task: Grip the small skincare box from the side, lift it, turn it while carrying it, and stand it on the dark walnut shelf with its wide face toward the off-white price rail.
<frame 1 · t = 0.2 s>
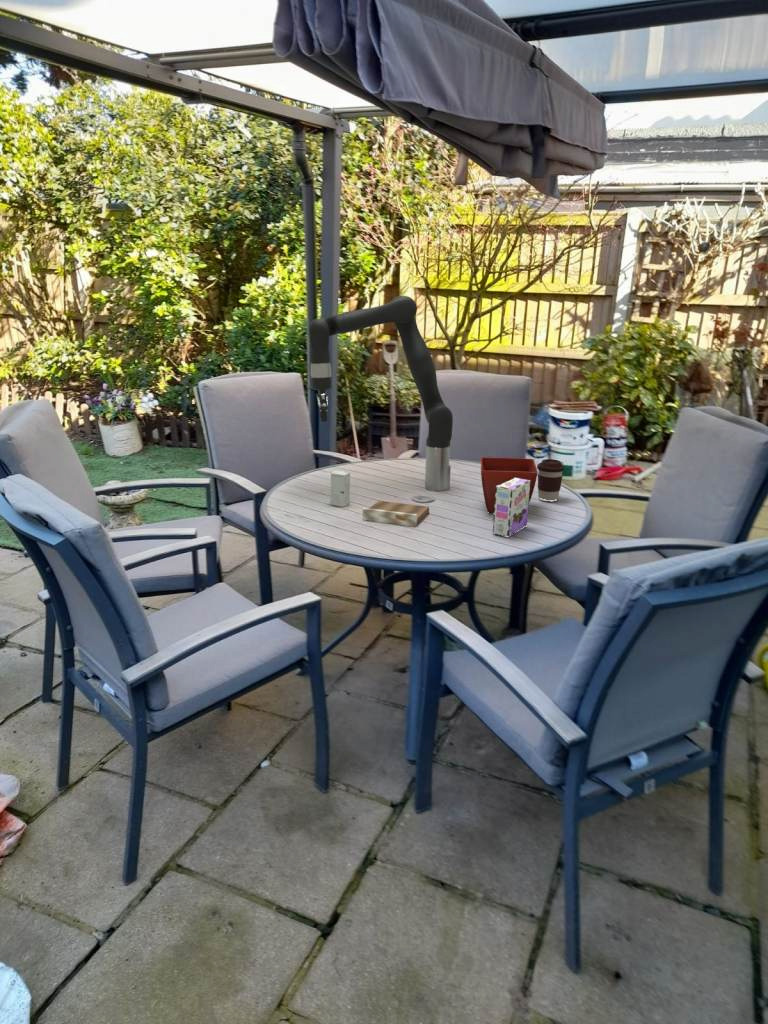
hand: (323, 419, 250), 28 cm above the table, tool pointing down, fingers open, 8 cm apart
candy box: (510, 531, 220), on the table
skincare box: (340, 505, 245), on the table
shelf: (396, 516, 233), on the table
plant pot: (505, 510, 241), on the table
coffee cup: (547, 500, 253), on the table
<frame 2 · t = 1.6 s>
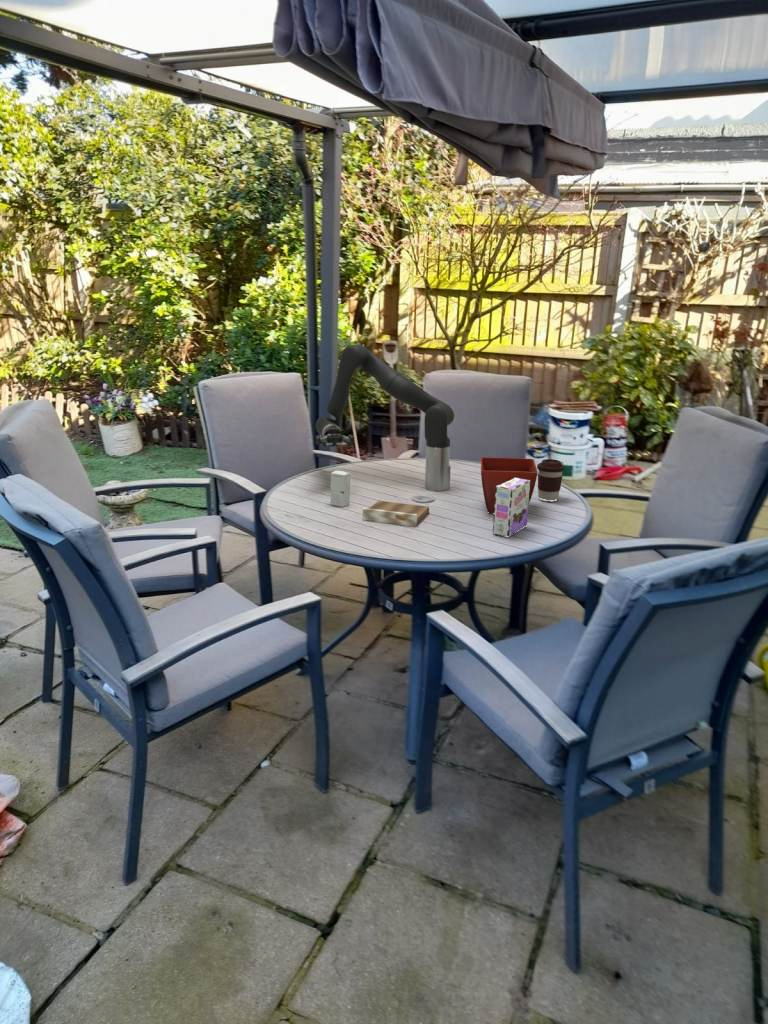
hand: (336, 444, 249), 20 cm above the table, tool horizontal, fingers open, 8 cm apart
nothing on the table moved.
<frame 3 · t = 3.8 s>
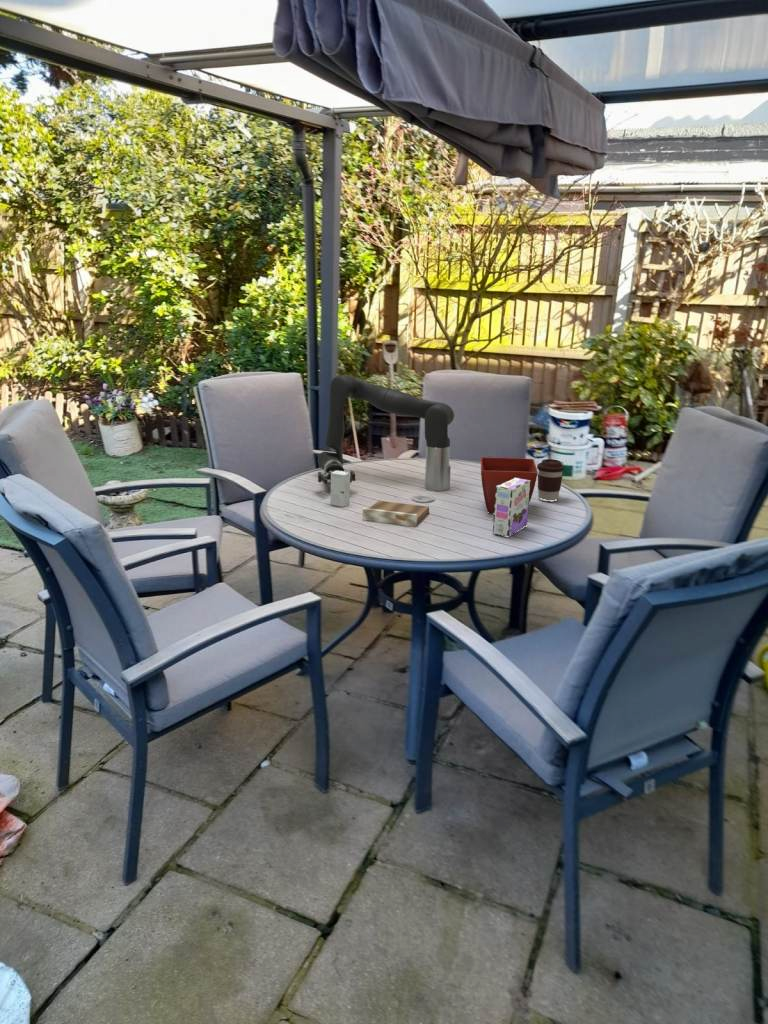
hand: (338, 481, 250), 7 cm above the table, tool horizontal, fingers open, 8 cm apart
nothing on the table moved.
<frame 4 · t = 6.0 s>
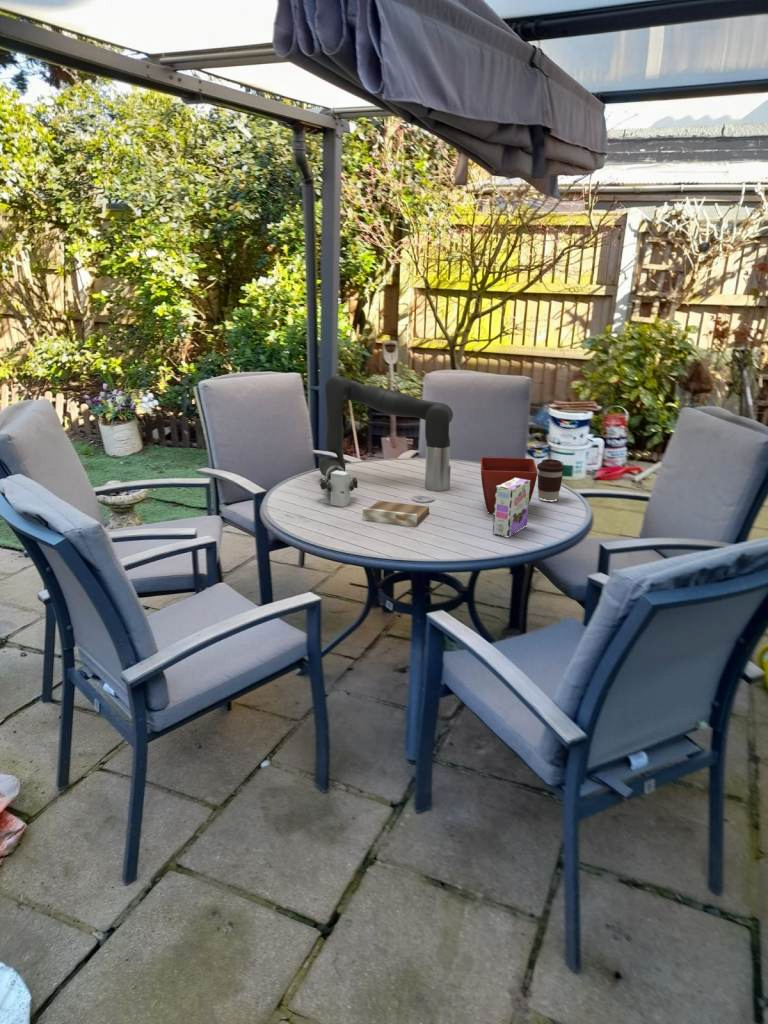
hand: (340, 488, 241), 7 cm above the table, tool horizontal, fingers closed on skincare box, 7 cm apart
skincare box: (340, 505, 245), on the table, touching gripper
everything else where it was.
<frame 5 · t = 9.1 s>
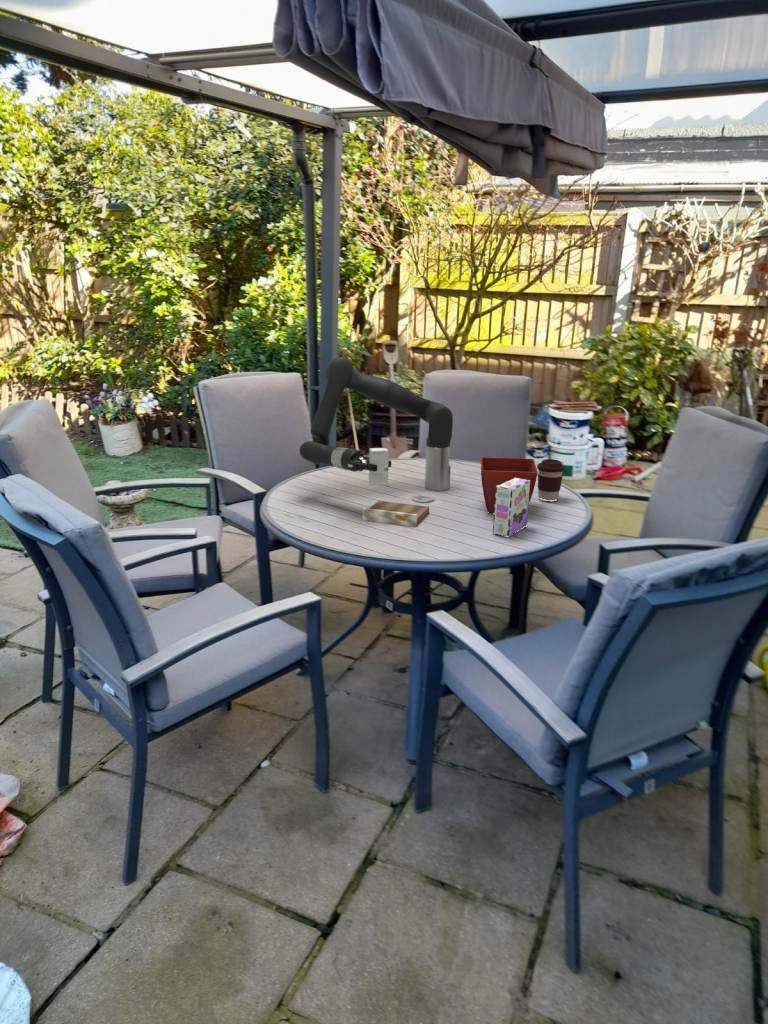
hand: (383, 466, 226), 18 cm above the table, tool horizontal, fingers closed on skincare box, 7 cm apart
skincare box: (378, 484, 230), point 11 cm above the table, touching gripper
everything else where it was.
when the fingers open (10 cm above the table, at t = 12.3 s): skincare box drops 1 cm, resting on shelf.
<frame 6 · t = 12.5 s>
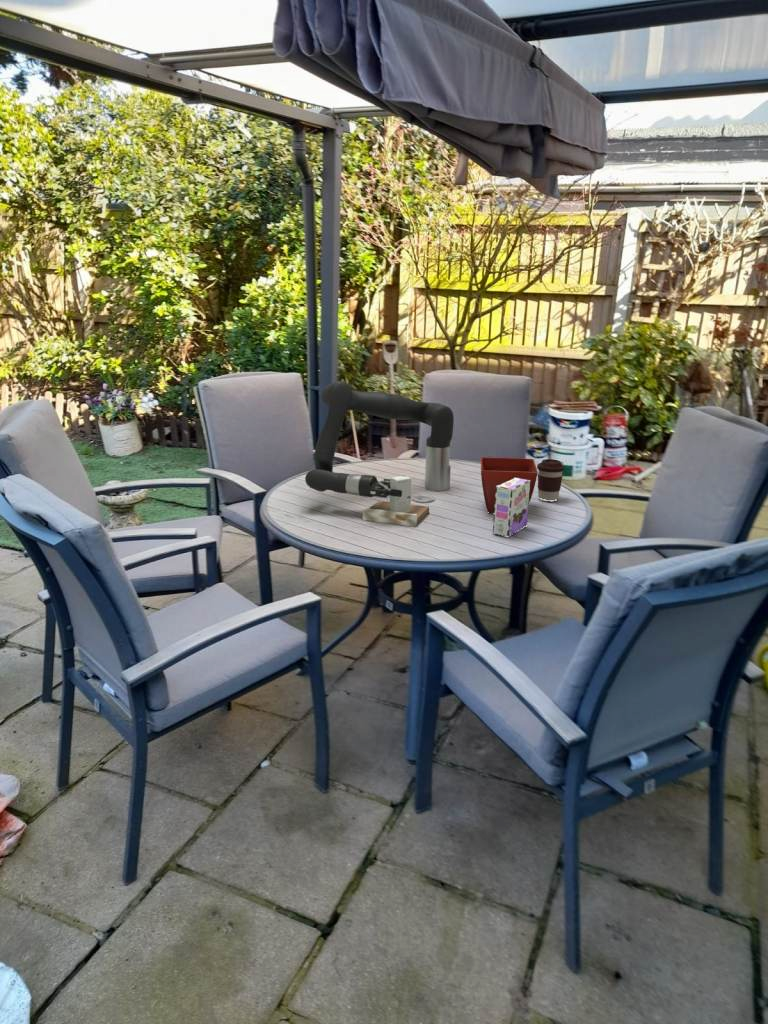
hand: (405, 490, 226), 10 cm above the table, tool horizontal, fingers open, 8 cm apart
skincare box: (400, 512, 230), point 2 cm above the table, touching shelf
everything else where it was.
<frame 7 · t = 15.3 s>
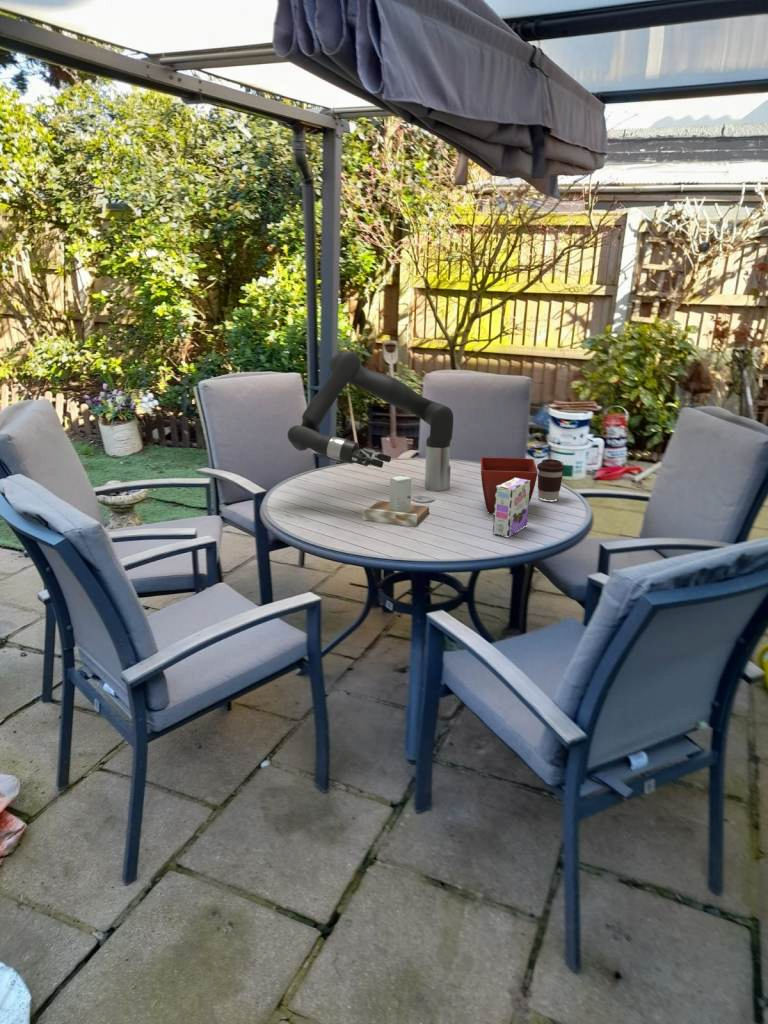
hand: (386, 462, 228), 19 cm above the table, tool horizontal, fingers open, 8 cm apart
nothing on the table moved.
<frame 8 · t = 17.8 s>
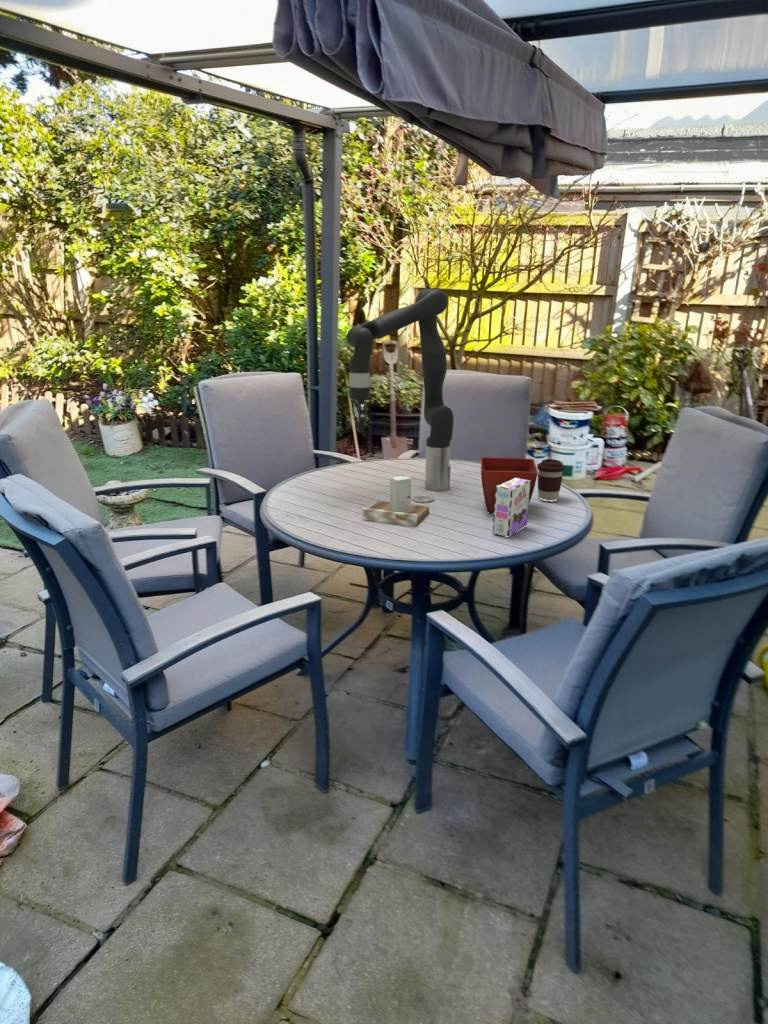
hand: (359, 430, 244), 26 cm above the table, tool pointing down, fingers open, 8 cm apart
nothing on the table moved.
at the end: skincare box inside the target area on the shelf (1.0 cm from its centre), point 2.3 cm above the shelf's base; skincare box tilted 0°; the gripper is holding nothing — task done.
